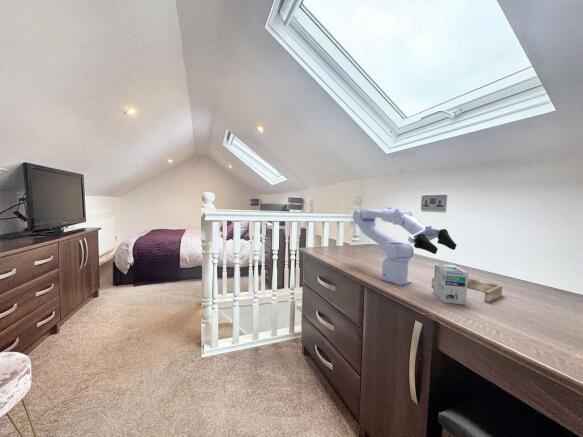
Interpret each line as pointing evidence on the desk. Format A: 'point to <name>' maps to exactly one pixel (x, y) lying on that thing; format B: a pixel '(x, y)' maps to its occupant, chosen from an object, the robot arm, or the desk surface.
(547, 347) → the desk surface
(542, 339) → the desk surface
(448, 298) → the light bulb box
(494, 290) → the wooden frame
